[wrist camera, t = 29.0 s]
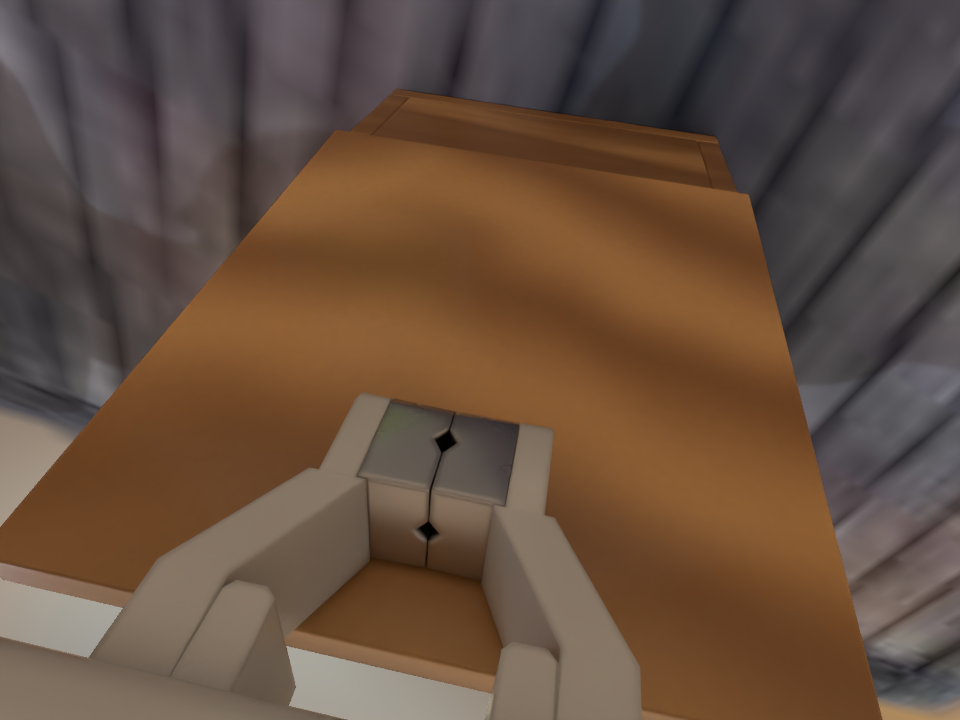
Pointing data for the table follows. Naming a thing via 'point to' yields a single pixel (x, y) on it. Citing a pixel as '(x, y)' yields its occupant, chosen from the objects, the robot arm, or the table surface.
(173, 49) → the table surface
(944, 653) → the table surface
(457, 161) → the pine box lid
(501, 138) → the pine box
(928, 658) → the table surface
